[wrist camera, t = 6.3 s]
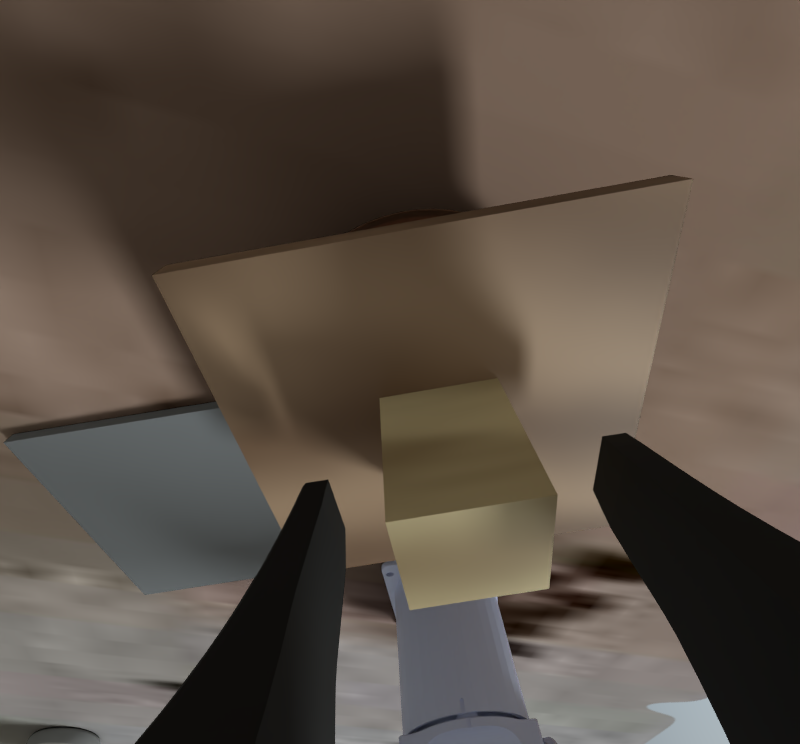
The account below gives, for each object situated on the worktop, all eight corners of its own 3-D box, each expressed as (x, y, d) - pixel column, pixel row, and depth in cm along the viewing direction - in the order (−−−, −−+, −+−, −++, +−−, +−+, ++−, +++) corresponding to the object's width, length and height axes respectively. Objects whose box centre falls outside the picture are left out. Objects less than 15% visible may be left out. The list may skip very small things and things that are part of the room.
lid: (605, 509, 17) (689, 644, 12) (306, 557, 17) (286, 706, 13) (670, 175, 10) (914, 216, 6) (166, 265, 10) (13, 372, 6)
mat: (348, 555, 27) (348, 563, 26) (148, 585, 27) (144, 594, 27) (288, 390, 19) (286, 397, 19) (12, 434, 20) (3, 442, 19)
